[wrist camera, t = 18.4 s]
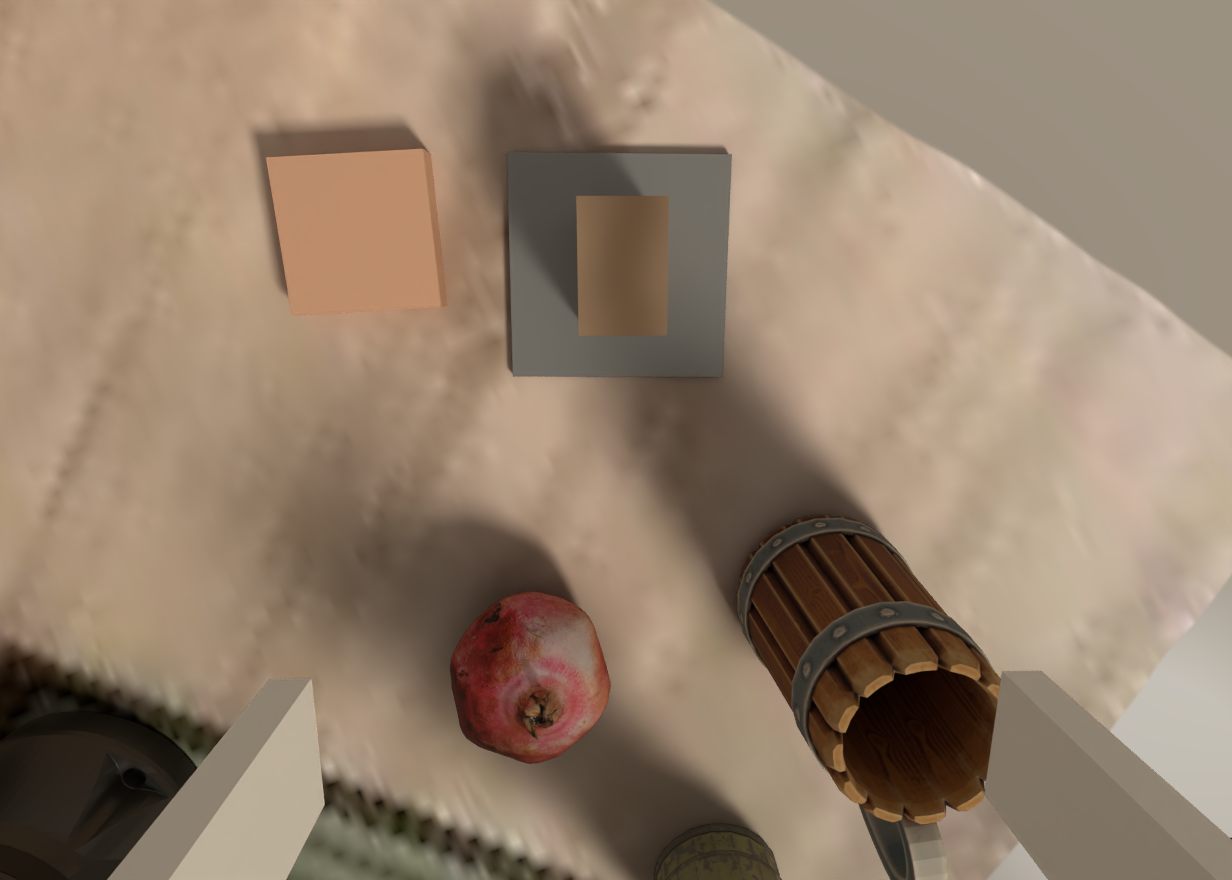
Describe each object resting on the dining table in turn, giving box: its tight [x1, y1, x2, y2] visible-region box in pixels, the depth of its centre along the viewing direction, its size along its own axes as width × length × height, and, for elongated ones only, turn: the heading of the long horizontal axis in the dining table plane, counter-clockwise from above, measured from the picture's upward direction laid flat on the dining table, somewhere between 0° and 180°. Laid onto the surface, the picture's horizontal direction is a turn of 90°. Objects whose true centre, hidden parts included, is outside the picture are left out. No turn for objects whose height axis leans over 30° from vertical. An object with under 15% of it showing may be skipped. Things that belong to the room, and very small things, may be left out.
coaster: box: [507, 152, 732, 377], centre depth 39 cm, size 12×12×1 cm
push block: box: [576, 196, 669, 336], centre depth 35 cm, size 4×6×8 cm, turn 0°
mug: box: [737, 515, 1001, 880], centre depth 37 cm, size 16×11×15 cm
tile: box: [266, 149, 448, 316], centre depth 38 cm, size 8×2×8 cm
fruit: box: [450, 591, 611, 764], centre depth 40 cm, size 9×10×10 cm
